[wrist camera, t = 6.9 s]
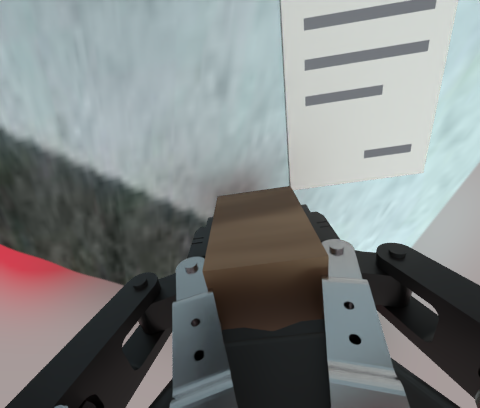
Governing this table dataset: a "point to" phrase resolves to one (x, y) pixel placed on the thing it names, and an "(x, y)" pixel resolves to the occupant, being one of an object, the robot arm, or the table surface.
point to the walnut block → (264, 261)
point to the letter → (361, 86)
